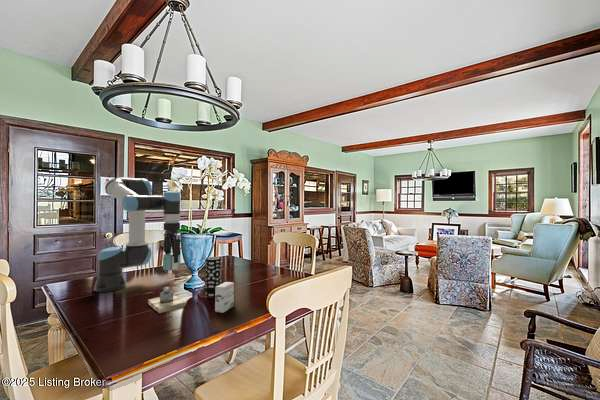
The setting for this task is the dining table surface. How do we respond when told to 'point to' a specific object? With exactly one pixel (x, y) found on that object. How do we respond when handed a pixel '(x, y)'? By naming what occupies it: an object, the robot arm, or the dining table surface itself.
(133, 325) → the dining table surface
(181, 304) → the board
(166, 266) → the cap
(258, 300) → the dining table surface
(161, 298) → the knobbed metal weight
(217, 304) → the ink box
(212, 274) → the white-spotted black cylinder
